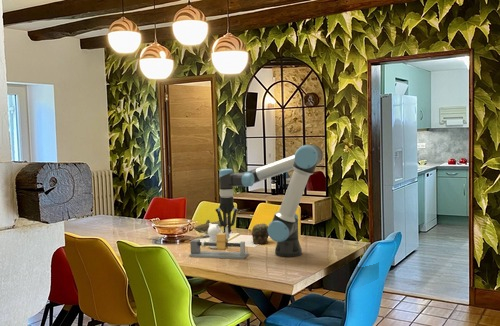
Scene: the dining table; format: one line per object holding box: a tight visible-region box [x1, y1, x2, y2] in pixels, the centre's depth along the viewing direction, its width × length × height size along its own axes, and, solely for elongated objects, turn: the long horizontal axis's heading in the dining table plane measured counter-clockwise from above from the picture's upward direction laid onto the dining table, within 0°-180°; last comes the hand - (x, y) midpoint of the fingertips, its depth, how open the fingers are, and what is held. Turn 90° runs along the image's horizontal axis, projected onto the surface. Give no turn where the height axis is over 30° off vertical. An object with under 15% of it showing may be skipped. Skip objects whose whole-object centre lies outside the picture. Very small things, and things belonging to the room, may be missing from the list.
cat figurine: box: [207, 222, 224, 250], centre depth 305 cm, size 9×12×15 cm
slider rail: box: [188, 238, 249, 260], centre depth 284 cm, size 32×10×8 cm, turn 75°
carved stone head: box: [251, 223, 269, 245], centre depth 313 cm, size 11×11×12 cm
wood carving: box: [193, 215, 228, 237], centre depth 343 cm, size 9×35×11 cm, turn 139°
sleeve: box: [216, 232, 229, 251], centre depth 283 cm, size 5×5×9 cm
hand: (227, 238), depth 282 cm, fingers closed
